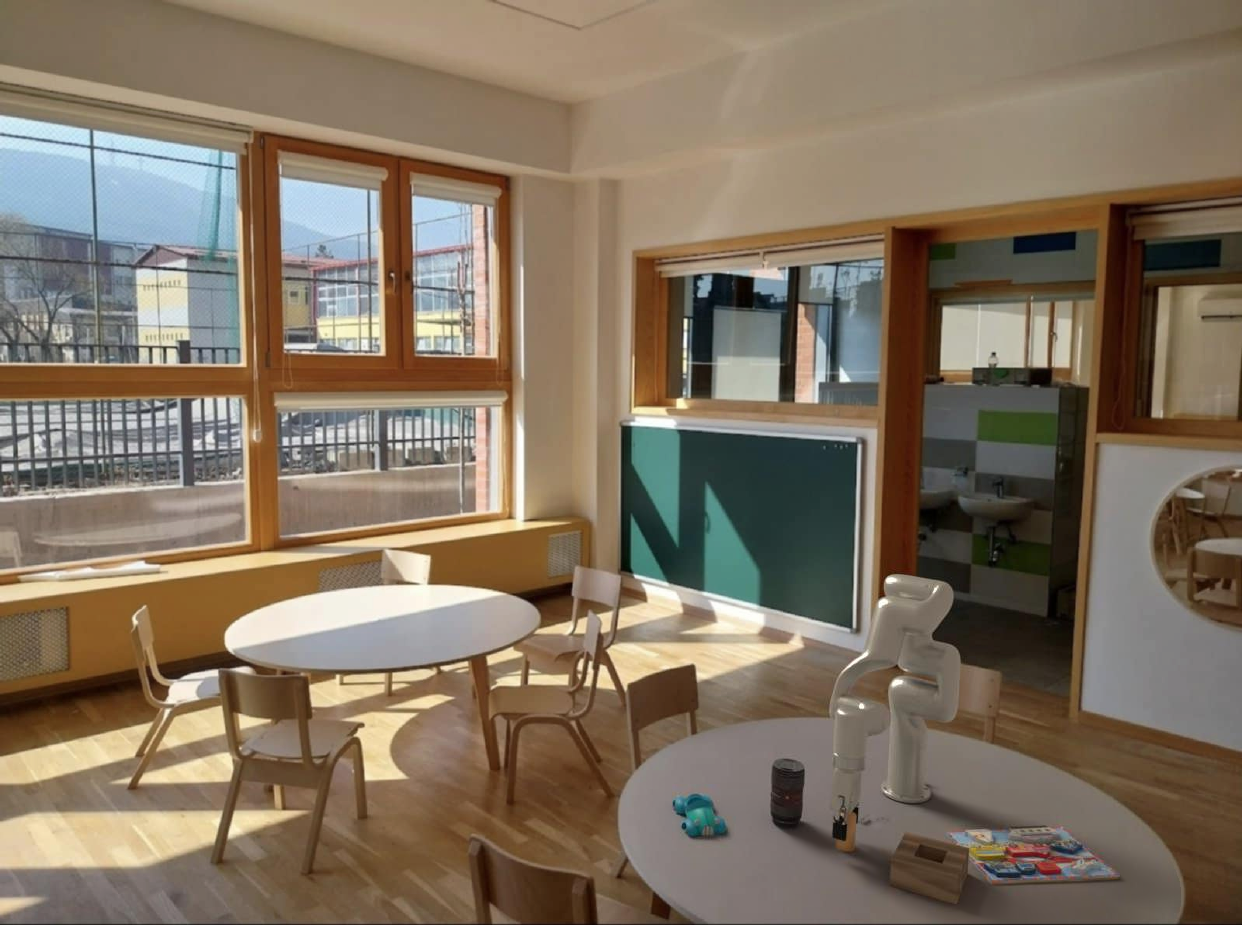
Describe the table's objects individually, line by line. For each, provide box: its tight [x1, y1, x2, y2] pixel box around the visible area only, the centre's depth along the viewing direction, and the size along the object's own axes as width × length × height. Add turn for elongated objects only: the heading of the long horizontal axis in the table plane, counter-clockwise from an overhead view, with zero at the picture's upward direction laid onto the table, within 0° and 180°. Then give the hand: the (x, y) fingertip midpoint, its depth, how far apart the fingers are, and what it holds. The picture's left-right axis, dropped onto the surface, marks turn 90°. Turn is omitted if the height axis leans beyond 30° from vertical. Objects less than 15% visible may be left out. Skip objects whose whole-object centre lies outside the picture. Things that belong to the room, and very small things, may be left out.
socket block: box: [889, 831, 970, 905], centre depth 205 cm, size 14×14×6 cm
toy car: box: [672, 793, 728, 838], centre depth 231 cm, size 11×18×7 cm, turn 11°
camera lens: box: [769, 757, 806, 829], centre depth 229 cm, size 8×8×15 cm
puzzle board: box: [945, 824, 1121, 885], centre depth 217 cm, size 30×23×3 cm
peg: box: [835, 812, 857, 853], centre depth 218 cm, size 4×4×8 cm
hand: (845, 830), depth 218 cm, fingers open, 9 cm apart
